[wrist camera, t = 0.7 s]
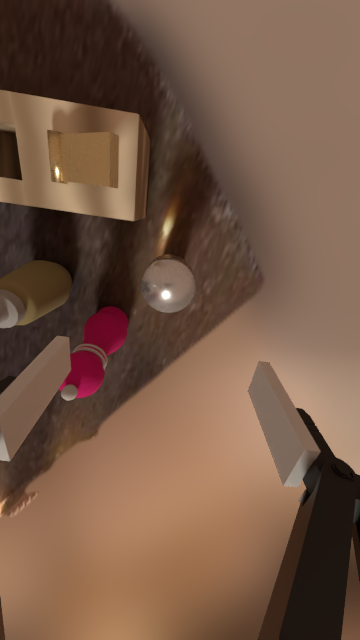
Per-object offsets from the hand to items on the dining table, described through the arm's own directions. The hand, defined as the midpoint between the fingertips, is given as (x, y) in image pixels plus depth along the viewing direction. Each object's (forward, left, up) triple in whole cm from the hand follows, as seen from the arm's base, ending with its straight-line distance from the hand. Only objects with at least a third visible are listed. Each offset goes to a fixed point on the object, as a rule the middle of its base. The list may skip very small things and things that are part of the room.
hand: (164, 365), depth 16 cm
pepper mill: (-11, -11, -27) cm, 31 cm away
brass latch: (-10, +13, -14) cm, 22 cm away
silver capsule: (-1, +1, -27) cm, 27 cm away
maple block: (-16, +13, -27) cm, 33 cm away
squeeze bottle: (-21, -4, -27) cm, 34 cm away
